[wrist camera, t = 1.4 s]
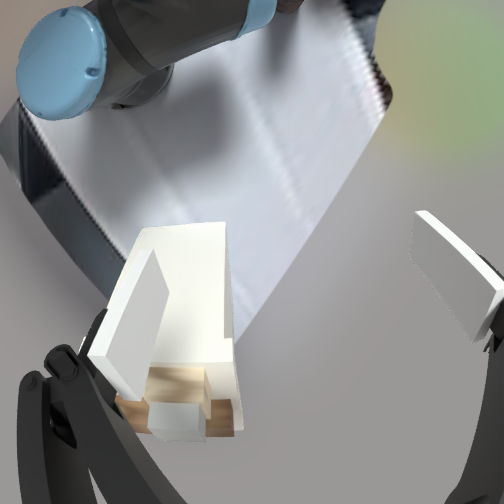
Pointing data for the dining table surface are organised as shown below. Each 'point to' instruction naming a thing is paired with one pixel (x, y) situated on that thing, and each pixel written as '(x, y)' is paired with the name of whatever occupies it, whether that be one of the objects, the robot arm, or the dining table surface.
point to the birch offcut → (179, 387)
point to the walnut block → (215, 426)
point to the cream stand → (194, 304)
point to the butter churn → (288, 5)
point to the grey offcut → (177, 421)
